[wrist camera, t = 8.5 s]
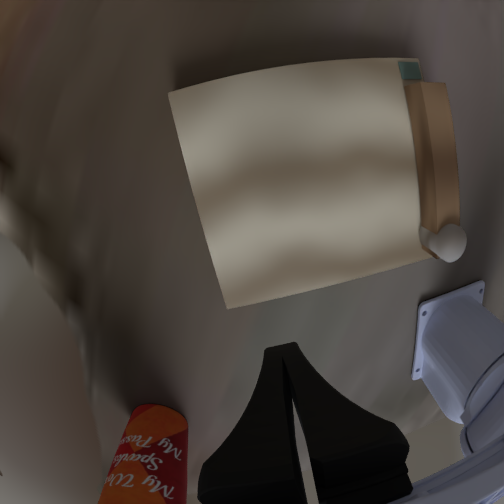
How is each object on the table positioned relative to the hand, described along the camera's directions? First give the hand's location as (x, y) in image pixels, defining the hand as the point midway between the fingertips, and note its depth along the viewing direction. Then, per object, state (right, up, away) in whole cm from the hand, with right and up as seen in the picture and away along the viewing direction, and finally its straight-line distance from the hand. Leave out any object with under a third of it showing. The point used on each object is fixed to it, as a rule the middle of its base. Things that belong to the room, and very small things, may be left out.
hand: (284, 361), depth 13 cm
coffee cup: (-11, -13, +14) cm, 22 cm away
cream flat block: (+3, +10, +7) cm, 12 cm away
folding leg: (+10, +10, +4) cm, 15 cm away
